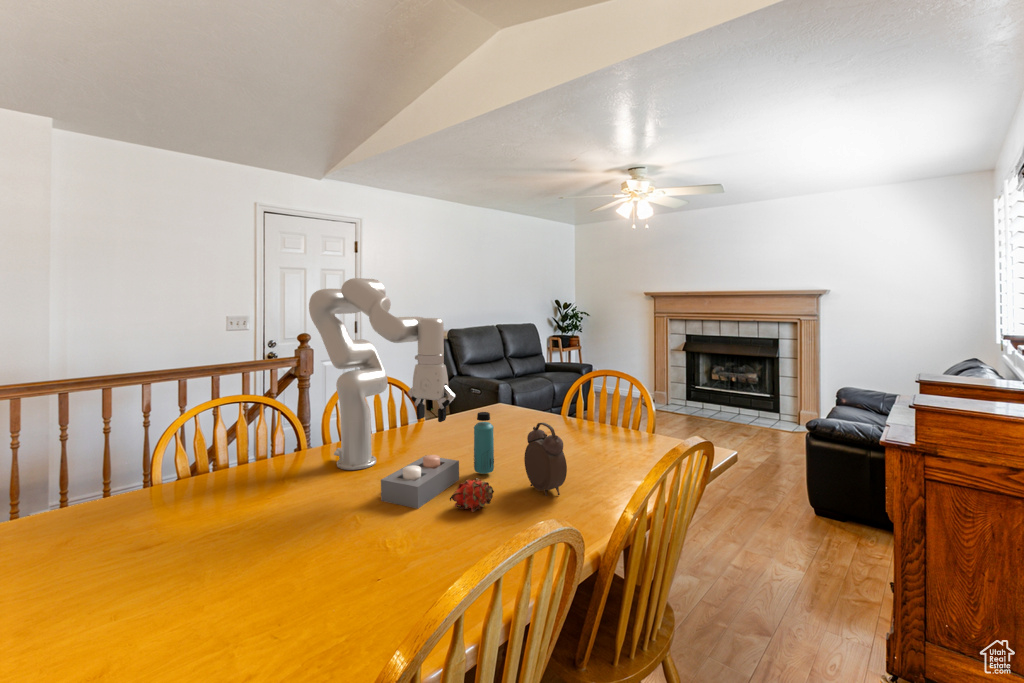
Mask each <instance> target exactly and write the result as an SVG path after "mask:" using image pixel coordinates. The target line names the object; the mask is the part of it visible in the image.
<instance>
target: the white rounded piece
mask: <svg viewBox="0 0 1024 683" xmlns="http://www.w3.org/2000/svg"><path fill="white" fill-rule="evenodd" d="M406 466H407V465H406ZM402 468H403V467H402ZM419 478H421V467H420V466H415V465H413V466H407V467H405V466H404V468H403V479H407V480H412V481H416V480H417V479H419Z"/></svg>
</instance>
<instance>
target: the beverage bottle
mask: <svg viewBox="0 0 1024 683" xmlns="http://www.w3.org/2000/svg"><path fill="white" fill-rule="evenodd" d="M476 420H477V421H479V422H477V423H476V424H475V425H474V426H473V469H474V472H475V473H478V474H489V473H492V472H493V471H494V468H495V454H494V453H495V450H494V448H495V447H494V445H495V444H494V443H495V440H494V425H493V424H492V423H491V422H489V421H490V420H491V413H490V412H489V411H488V412H487V411H479V412H477V416H476Z"/></svg>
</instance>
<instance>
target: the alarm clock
mask: <svg viewBox="0 0 1024 683" xmlns="http://www.w3.org/2000/svg"><path fill="white" fill-rule="evenodd" d="M540 426H543V427H546V428H547V429H549V431H550V433H551V434H550V435H548V434H547V433H546V432H545V431H544V430H543V429H539V428H540ZM532 429H533V430H532V431H530V432H528V435H527V437H526V438H527V443H528V444H527V445H526V448H525V451H524V457H523V458H524V460H523V461H524V467H525V468H524V469H525V472H526V473H525V474H526V476H527V478H528V481H529V482H530V484H529V485H530V487H533V488H534V489H535V490H537V491H539V492H543V491H544V495H545V497H547V496H548V491H551V490H554V489H555V491H556V493H557V496H561V495H560V489H559V488H560V487H561V486H563V484H564V483H565V482H566V479H567V474H568V473H567V472H568V468H567V460H566V456H565V454H564V441H563V440H562V439H561V437H560V436H558V435H556V432H555V429H554V428H553V426H551V425H550V424H548V423H546V422H538V423H536V426H533V428H532Z"/></svg>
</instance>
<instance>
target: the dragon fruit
mask: <svg viewBox="0 0 1024 683" xmlns="http://www.w3.org/2000/svg"><path fill="white" fill-rule="evenodd" d="M494 492H495V490H494V488H493V487H492V486H491V485H490V483H489V482H487V481H482V480H481V479H480V478H477V477H476V478H475V479H466V480H465V481H464V482H462V483H459V484H458V487H457V488H456V490H455V491H454V492H453V494H452V495H451V496H450V497H449V501H450V502H452V501H453V502H455V503H454V507H455V508H457V509H464V510H468V509H471V512H472V513H473V512H475V511H477V510H480V509H483V507H484V506H485V505H490V504H491V502H492V499H493V497H494V495H493V494H494Z"/></svg>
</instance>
